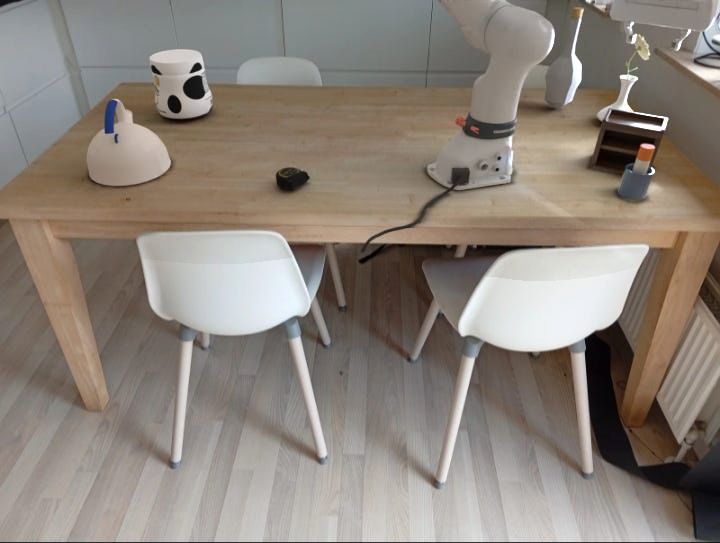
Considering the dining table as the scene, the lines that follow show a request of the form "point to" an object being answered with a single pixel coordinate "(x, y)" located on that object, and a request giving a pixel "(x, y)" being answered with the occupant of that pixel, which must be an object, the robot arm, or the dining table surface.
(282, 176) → the tape measure
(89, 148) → the kettle
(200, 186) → the dining table surface
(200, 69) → the milk container
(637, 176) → the pen cup
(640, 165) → the marker
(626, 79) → the flower in vase
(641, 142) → the small wooden shelf
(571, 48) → the bottle
